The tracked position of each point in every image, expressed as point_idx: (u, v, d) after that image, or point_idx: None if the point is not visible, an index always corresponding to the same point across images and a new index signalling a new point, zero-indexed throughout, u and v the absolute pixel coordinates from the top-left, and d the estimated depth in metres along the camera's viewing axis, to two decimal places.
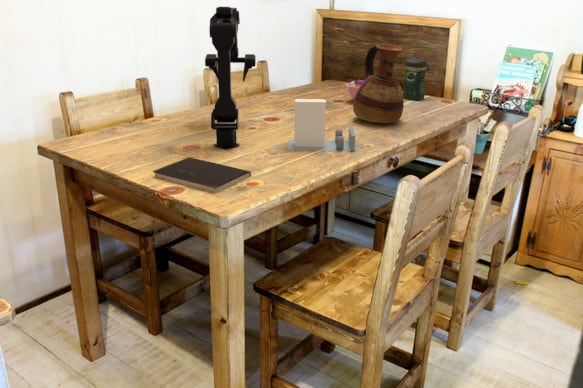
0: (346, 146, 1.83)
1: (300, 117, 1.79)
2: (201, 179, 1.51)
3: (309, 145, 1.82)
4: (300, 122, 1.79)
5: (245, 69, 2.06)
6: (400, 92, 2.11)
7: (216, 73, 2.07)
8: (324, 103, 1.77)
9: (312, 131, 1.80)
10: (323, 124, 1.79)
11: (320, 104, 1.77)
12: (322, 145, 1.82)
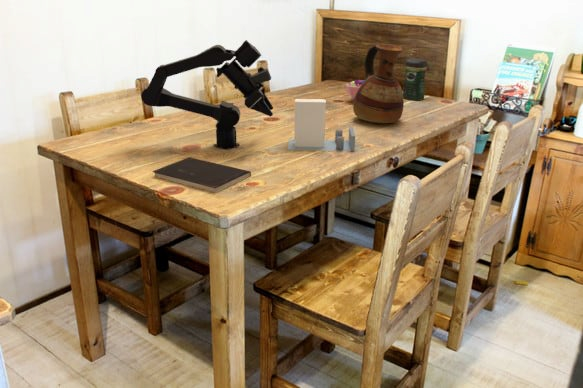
0: (346, 146, 1.83)
1: (300, 117, 1.79)
2: (201, 179, 1.51)
3: (309, 145, 1.82)
4: (300, 122, 1.79)
5: None
6: (400, 92, 2.11)
7: None
8: (324, 103, 1.77)
9: (312, 131, 1.80)
10: (323, 124, 1.79)
11: (320, 104, 1.77)
12: (322, 145, 1.82)
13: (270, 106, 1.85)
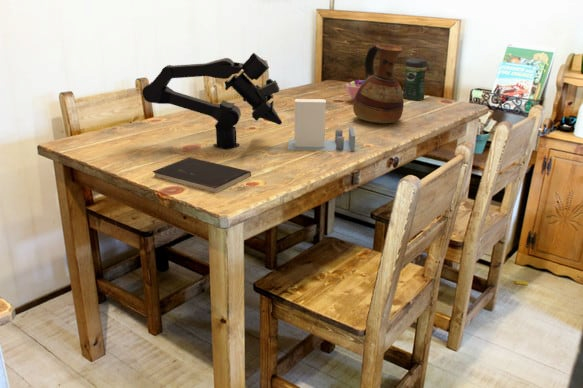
0: (346, 146, 1.83)
1: (300, 117, 1.79)
2: (201, 179, 1.51)
3: (309, 145, 1.82)
4: (300, 122, 1.79)
5: None
6: (400, 92, 2.11)
7: None
8: (324, 103, 1.77)
9: (312, 131, 1.80)
10: (323, 124, 1.79)
11: (320, 104, 1.77)
12: (322, 145, 1.82)
13: None
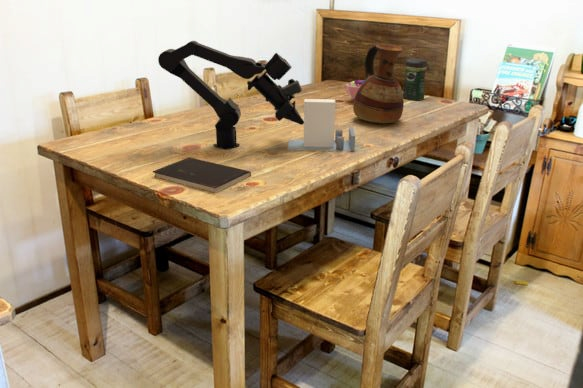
0: (346, 146, 1.83)
1: (310, 117, 1.79)
2: (201, 179, 1.51)
3: (318, 145, 1.82)
4: (309, 122, 1.79)
5: None
6: (400, 92, 2.11)
7: None
8: (334, 103, 1.77)
9: (322, 131, 1.80)
10: (332, 124, 1.79)
11: (330, 104, 1.77)
12: (331, 145, 1.82)
13: None
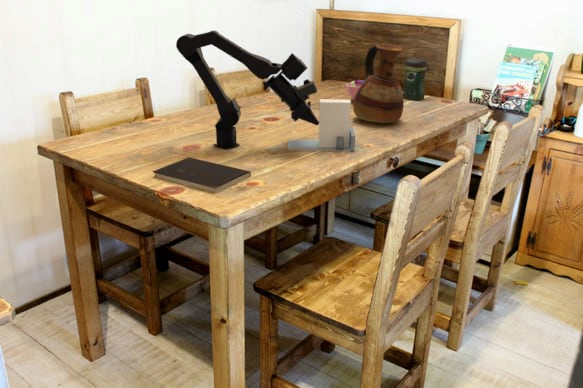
0: None
1: (325, 118, 1.79)
2: (201, 179, 1.51)
3: (333, 145, 1.82)
4: (325, 122, 1.79)
5: None
6: (400, 92, 2.11)
7: None
8: (349, 103, 1.77)
9: (337, 132, 1.80)
10: (348, 124, 1.79)
11: (345, 104, 1.77)
12: (346, 145, 1.82)
13: None
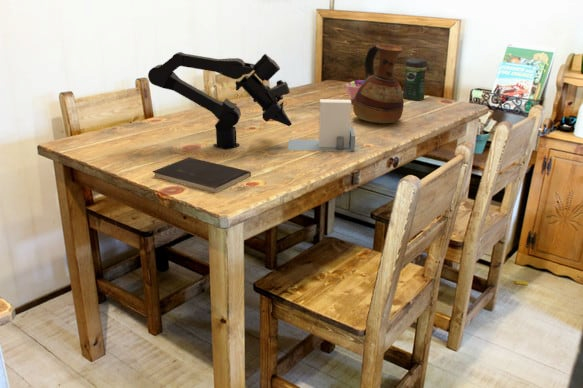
0: None
1: (325, 118, 1.79)
2: (201, 179, 1.51)
3: (334, 145, 1.82)
4: (325, 122, 1.79)
5: None
6: (400, 92, 2.11)
7: None
8: (349, 103, 1.77)
9: (337, 132, 1.80)
10: (348, 124, 1.79)
11: (345, 104, 1.77)
12: (347, 145, 1.82)
13: None
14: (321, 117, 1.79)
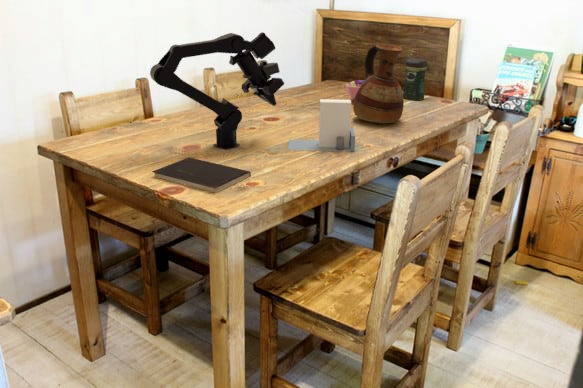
0: None
1: (325, 118, 1.79)
2: (201, 179, 1.51)
3: (334, 145, 1.82)
4: (325, 122, 1.79)
5: (261, 96, 1.83)
6: (400, 92, 2.11)
7: (263, 99, 1.86)
8: (349, 103, 1.77)
9: (337, 132, 1.80)
10: (348, 124, 1.79)
11: (345, 104, 1.77)
12: (347, 145, 1.82)
13: None
14: (321, 117, 1.79)
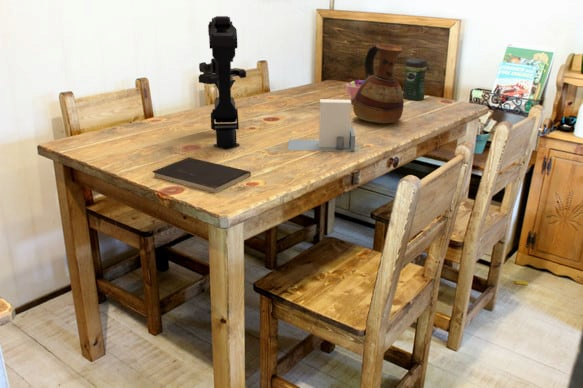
0: None
1: (325, 118, 1.79)
2: (201, 179, 1.51)
3: (334, 145, 1.82)
4: (325, 122, 1.79)
5: (231, 83, 1.94)
6: (400, 92, 2.11)
7: None
8: (349, 103, 1.77)
9: (337, 132, 1.80)
10: (348, 124, 1.79)
11: (345, 104, 1.77)
12: (347, 145, 1.82)
13: None
14: (321, 117, 1.79)
